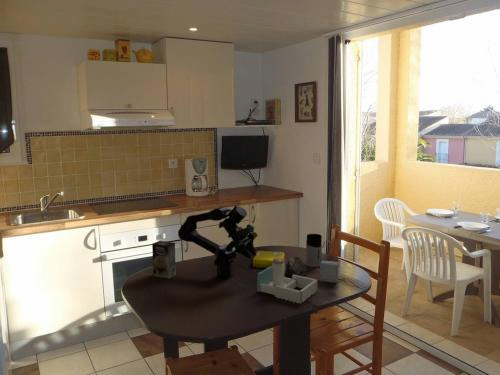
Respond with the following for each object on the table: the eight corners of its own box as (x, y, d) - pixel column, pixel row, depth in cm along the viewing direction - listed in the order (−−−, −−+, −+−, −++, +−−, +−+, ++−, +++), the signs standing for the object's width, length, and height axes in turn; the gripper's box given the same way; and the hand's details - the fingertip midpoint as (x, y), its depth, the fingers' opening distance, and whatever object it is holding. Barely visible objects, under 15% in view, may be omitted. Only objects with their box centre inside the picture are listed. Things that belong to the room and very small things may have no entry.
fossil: (306, 277, 203) (296, 259, 202) (289, 285, 206) (279, 266, 205) (308, 269, 213) (299, 251, 213) (292, 276, 216) (283, 258, 215)
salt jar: (273, 288, 188) (272, 262, 186) (272, 284, 193) (272, 258, 191) (285, 288, 188) (285, 261, 186) (283, 283, 193) (283, 257, 191)
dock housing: (275, 297, 183) (275, 286, 182) (293, 285, 196) (293, 274, 195) (300, 303, 176) (300, 292, 175) (317, 290, 189) (317, 279, 188)
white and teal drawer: (257, 291, 188) (257, 273, 187) (274, 280, 200) (274, 264, 199) (281, 297, 182) (281, 279, 180) (297, 286, 194) (297, 268, 192)
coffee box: (152, 276, 207) (151, 243, 205) (160, 272, 213) (159, 240, 210) (169, 279, 204) (168, 245, 201) (176, 274, 210) (175, 242, 207)
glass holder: (310, 260, 230) (310, 232, 227) (334, 265, 222) (335, 236, 219) (302, 264, 223) (302, 236, 220) (327, 270, 215) (328, 240, 212)
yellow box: (257, 258, 234) (257, 249, 233) (284, 259, 232) (284, 251, 231) (252, 267, 220) (252, 258, 219) (282, 269, 217) (282, 260, 216)
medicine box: (338, 279, 202) (338, 262, 200) (337, 283, 198) (337, 265, 196) (321, 277, 204) (321, 260, 203) (319, 281, 200) (320, 263, 199)
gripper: (230, 223, 188) (252, 252, 184) (254, 215, 204) (274, 241, 199) (216, 238, 194) (237, 266, 190) (240, 229, 209) (260, 255, 205)
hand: (253, 256), depth 196 cm, fingers open, 4 cm apart
